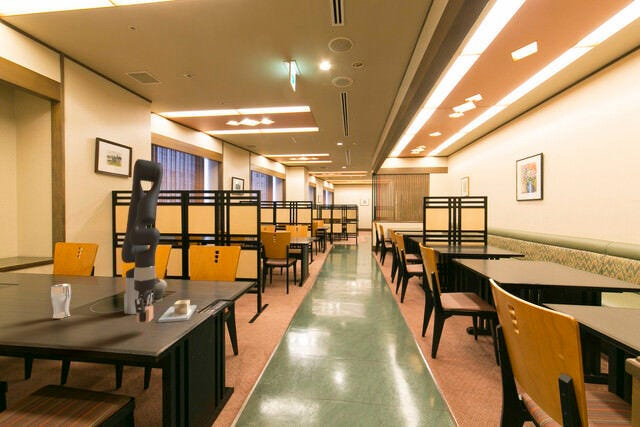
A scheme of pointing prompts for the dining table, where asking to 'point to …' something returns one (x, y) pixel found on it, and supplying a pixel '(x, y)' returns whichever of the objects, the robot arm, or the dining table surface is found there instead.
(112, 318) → the dining table surface
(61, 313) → the beer glass
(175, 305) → the beech block
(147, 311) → the terracotta block
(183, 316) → the build board
